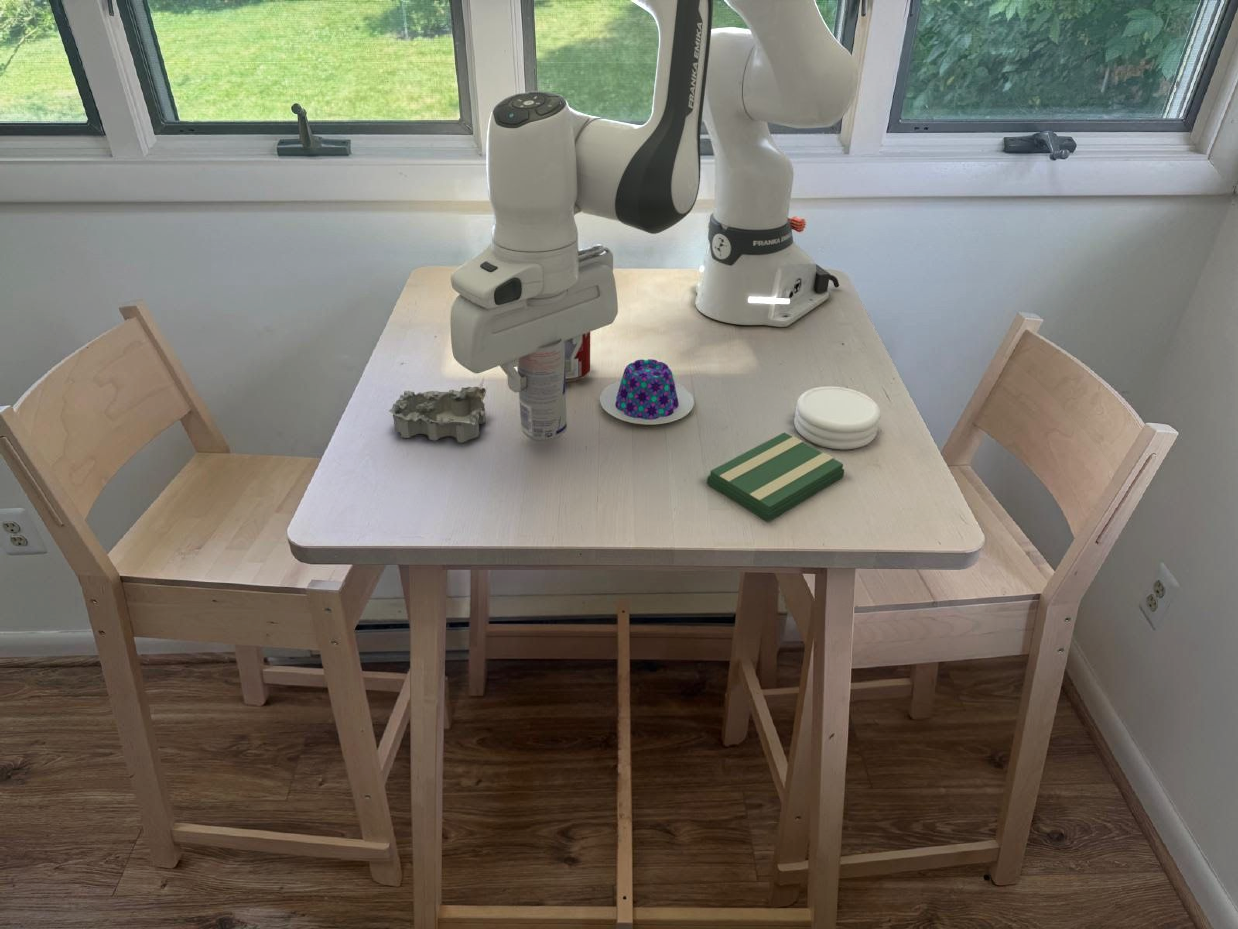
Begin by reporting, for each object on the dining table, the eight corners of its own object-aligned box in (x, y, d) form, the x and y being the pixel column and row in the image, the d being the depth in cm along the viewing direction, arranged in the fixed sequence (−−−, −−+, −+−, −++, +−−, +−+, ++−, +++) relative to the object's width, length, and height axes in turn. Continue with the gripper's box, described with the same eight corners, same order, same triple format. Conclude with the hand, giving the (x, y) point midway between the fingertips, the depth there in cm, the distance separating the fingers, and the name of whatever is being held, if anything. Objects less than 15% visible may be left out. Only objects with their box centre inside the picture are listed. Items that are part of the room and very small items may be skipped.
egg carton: (492, 415, 108) (490, 386, 106) (473, 447, 102) (471, 418, 100) (410, 406, 110) (406, 377, 107) (387, 437, 103) (382, 407, 101)
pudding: (589, 387, 114) (589, 352, 111) (675, 377, 117) (677, 342, 114) (614, 435, 105) (614, 397, 102) (707, 422, 108) (710, 385, 105)
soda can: (583, 388, 114) (583, 303, 107) (534, 382, 115) (530, 298, 108) (595, 365, 120) (595, 283, 113) (547, 359, 121) (545, 278, 114)
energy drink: (564, 415, 105) (561, 325, 98) (569, 440, 100) (567, 347, 94) (519, 419, 104) (513, 328, 97) (523, 444, 100) (517, 350, 93)
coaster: (804, 452, 103) (809, 427, 101) (785, 409, 111) (788, 385, 109) (887, 450, 103) (893, 425, 101) (861, 407, 112) (866, 383, 110)
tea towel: (782, 443, 104) (784, 430, 103) (843, 477, 99) (846, 463, 98) (706, 483, 97) (707, 469, 96) (767, 522, 92) (770, 507, 90)
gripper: (593, 232, 98) (594, 342, 106) (436, 278, 87) (450, 397, 95) (631, 248, 94) (628, 361, 102) (471, 299, 83) (482, 421, 91)
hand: (541, 379), depth 98 cm, fingers closed on energy drink, 5 cm apart
